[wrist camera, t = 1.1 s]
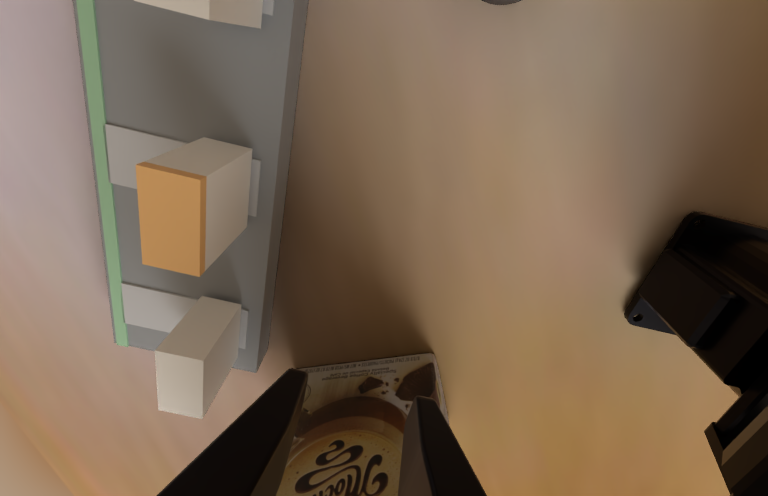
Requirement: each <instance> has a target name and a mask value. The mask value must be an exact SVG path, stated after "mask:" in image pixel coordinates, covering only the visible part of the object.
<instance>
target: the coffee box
mask: <svg viewBox="0 0 768 496" xmlns="http://www.w3.org/2000/svg"><path fill="white" fill-rule="evenodd" d="M298 370H303V371H307V372H308V381H307V386H306V392H305V397H304V402H303V406H302V410H301V413H300V417H299V421H298V424H297V428H296V431H295V435H294V439H293V442H292V446H291V449H290V453H289V456H288V460H287V464H286V467H285V471H284V474H283V477H282V480H281V483H280V486H279V489H278V491H277V494H276V496H398V488H399V477H400V467H401V456H402V446H403V435H404V427H405V422H406V419H407V416H408V413H409V411H410V408H411V405H412V403H413V400H414V398H415V397H416V396H424V397H429V398H433V399H434V400H435V401H436V402H437V404H438V406H439V408H440V410H441V412H442V413H443V415H444V417H445V419H446V421H447V423H448V425H449V420H448V414H447V409H446V404H445V399H444V394H443V389H442V384H441V379H440V374H439V370H438V366H437V362H436V358H435V355H434V354H431V353H425V354H417V355H409V356H402V357H393V358H385V359H376V360H368V361H360V362H352V363H344V364H335V365H327V366H318V367H310V368H301V369H298Z"/></svg>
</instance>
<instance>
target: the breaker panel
mask: <svg viewBox="0 0 768 496" xmlns="http://www.w3.org/2000/svg"><path fill="white" fill-rule="evenodd" d="M73 5H74V13H75V22H76V30H77V38H78V46H79V55H80V63H81V71H82V79H83V88H84V96H85V104H86V112H87V121H88V129H89V137H90V145H91V154H92V162H93V170H94V178H95V187H96V195H97V203H98V211H99V220H100V228H101V236H102V244H103V252H104V261H105V269H106V277H107V285H108V294H109V302H110V310H111V318H112V327H113V335H114V343H117V345H121V346H125V347H128V346H132V347H137V348H142V349H146V350H151V351H155V350H156V349H157V347H158V346H159V345H160V344H161V343H162V342H163V340H164V339H165V338H166V337H167V336H168V335H169V333H170V332H171V331H172V330H173V329H174V328H175V326H176V325H177V324H178V323H179V322H180V321H181V320H182V318H183V317H184V316H185V315H186V314H187V313H188V311H189V310H190V309H191V308H192V307H193V306H194V304H195V303H196V302H197V301H198V300H199V299H200V297H201V296H205V297H210V298H214V299H219V300H223V301H228V302H232V303H237V304H241V318H240V332H239V346H238V358H237V359H236V361H235V363H234V365H233V366H232V368H235V369H240V370H245V371H250V372H254V373H256V372H257V370H258V368H259V366H260V364H261V362H262V360H263V358H264V356H265V354H266V352H267V349H268V343H269V334H270V326H271V317H272V308H273V300H274V291H275V283H276V274H277V266H278V257H279V248H280V240H281V231H282V223H283V214H284V206H285V197H286V188H287V180H288V171H289V163H290V154H291V146H292V137H293V128H294V120H295V111H296V103H297V94H298V86H299V77H300V68H301V60H302V51H303V43H304V34H305V25H306V17H307V8H308V0H263V7H262V21H261V29H260V28H254V27H248V26H242V25H236V24H230V23H224V22H218V21H212V20H207V19H203V18H199V17H195V16H191V15H188V14H184V13H180V12H176V11H172V10H168V9H164V8H160V7H156V6H152V5H148V4H144V3H141V2H137V1H134V0H73ZM203 137H205V138H210V139H214V140H218V141H222V142H226V143H230V144H234V145H239V146H243V147H247V148H251V149H252V162H251V176H250V191H249V205H248V219H247V227H246V228H245V229H244V230H243V232H242V233H241V234H240V235H239V236H238V237H237V238H236V239H235V240H234V241H233V242H232V243H231V244H230V245H229V246H228V247H227V248H226V250H225V251H224V252H223V253H222V254H221V255H220V256H219V257H218V258H217V259H216V260H215V261H214V262H213V263H212V264H211V265H210V266H209V268H208V269H207V270H206V271H205V272H204V273H203V274H202V275H201V276H200V277H198V276H193V275H189V274H184V273H180V272H175V271H171V270H166V269H162V268H157V267H153V266H148V265H144V264H142V251H141V237H140V222H139V208H138V194H137V179H136V164H139V163H141V162H144V161H146V160H149V159H151V158H154V157H156V156H158V155H161V154H163V153H166V152H168V151H171V150H173V149H176V148H178V147H181V146H183V145H186V144H188V143H191V142H193V141H196V140H198V139H201V138H203Z"/></svg>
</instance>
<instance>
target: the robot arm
mask: <svg viewBox="0 0 768 496" xmlns="http://www.w3.org/2000/svg"><path fill="white" fill-rule="evenodd" d="M698 220H700V222H699V223H698V224H697V225H695V226H694V223H695V222H696V221H698ZM636 314H638V315H637V316H636V317H634V316H635V315H636ZM624 316H625V318H626V319H627V321H628V322H629V323H630V324H632V325H635V326H639V327H644V328H648V329H652V330H657V331H661V332H665V333H670V334H674V335H677V336H678V337H679V338H680V339H681V340H682V341H683V342H684V343H685V344H686V345H687V346H688V347H690V348H691V349H692V350H693V351H694V352H695V353H696V354H697V355H698V356H699V358H700V359H701V360H702V361H703V362H704V363H705V364H706V365H707V366H708V367H709V368H710V369H711V370H712V371H713V372H714V373H715V374H716V375H717V376H718V377H719V379H720V380H721V381H722V382H723V383H724V384H726V385H728V386H729V387H730V388H731V389H732V390H733V391H734V392H735V393H736V394H737V395H738V396H739V398H738V399H737V400H736V401H735V402H734V404H733V405H732V406H731V407H730V408H729V409H728V410H727V411H726V412H725V413H724V414H723V415H722V417H721V418H720V419H719V420H718V421H717V422H712V423H711V424H710V425H709V426H708V428H707V429H706V430H705V431H704V432H705V435H706V437H707V440H708V442H709V445H710V447H711V449H712V452H713V454H714V457H715V459H716V461H717V464H718V466H719V469H720V471H721V473H722V476H723V478H724V481H725V483H726V485H727V488H728V490H729V492H730V496H768V228H764V227H760V226H756V225H752V224H748V223H744V222H740V221H736V220H732V219H727V218H723V217H719V216H715V215H711V214H707V213H703V212H693V213H690V214H689V215H687V216H686V217H685V218H684V220H683V221H682V223H681V225H680V226H679V228H678V229H677V231H676V232H675V234H674V236H673V237H672V239H671V240H670V242H669V243H668V245H667V247H666V248H665V250H664V251H663V253H662V254H661V256H660V258H659V259H658V261H657V262H656V264H655V265H654V267H653V269H652V270H651V272H650V273H649V275H648V276H647V278H646V280H645V281H644V283H643V284H642V286H641V287H640V289H639V291H638V292H637V294H636V295H635V297H634V298H633V300H632V301H631V303H630V305H629V306H628V308H627V309H626V311H625V313H624ZM307 381H308V372H307V371H303V370H298V369H294V368H291V369H288V370H287V371H286V372H285V373H284V374H283V375H282V376H281V377H280V378H279V379H278V380H277V381H276V382H275V383H274V384H272V385H271V386H270V387H269V388H268V389H267V390H266V391H265V392H264V393H263V394H262V395H261V396H260V397H259V398H258V399H257V400H256V401H255V402H254V403H253V404H252V405H251V406H250V407H249V408H247V409H246V410H245V411H244V412H243V413H242V414H241V415H240V416H239V417H238V418H237V419H236V420H235V421H234V422H233V423H232V424H231V425H230V426H229V427H228V428H227V429H226V430H225V431H223V432H222V433H221V434H220V435H219V436H218V437H217V438H216V439H215V440H214V441H213V442H212V443H211V444H210V445H209V446H208V447H207V448H206V449H205V450H204V451H203V452H202V453H201V454H199V455H198V456H197V457H196V458H195V459H194V460H193V461H192V462H191V463H190V464H189V465H188V466H187V467H186V468H185V469H184V470H183V471H182V472H181V473H180V474H179V475H178V476H177V477H175V478H174V479H173V480H172V481H171V482H170V483H169V484H168V485H167V486H166V487H165V488H164V489H163V490H162V491H161V492H160V493H159V494H158V495H157V496H276V494H277V491H278V489H279V486H280V483H281V480H282V477H283V474H284V471H285V467H286V464H287V460H288V456H289V453H290V449H291V446H292V442H293V439H294V435H295V431H296V428H297V424H298V421H299V417H300V413H301V410H302V406H303V402H304V397H305V392H306V386H307ZM398 496H487V495H486V493H485V491H484V489H483V488H482V486H481V484H480V482H479V480H478V478H477V477H476V475H475V473H474V471H473V469H472V467H471V465H470V464H469V462H468V460H467V458H466V456H465V454H464V452H463V451H462V449H461V447H460V445H459V443H458V441H457V439H456V438H455V436H454V434H453V432H452V430H451V428H450V426H449V425H448V423H447V421H446V419H445V417H444V415H443V413H442V412H441V410H440V408H439V406H438V404H437V402H436V401H435V400H434V399H433V398H429V397H424V396H416V397H415V398H414V400H413V403H412V405H411V408H410V411H409V413H408V416H407V419H406V422H405V427H404V435H403V446H402V456H401V467H400V477H399V488H398Z"/></svg>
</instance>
